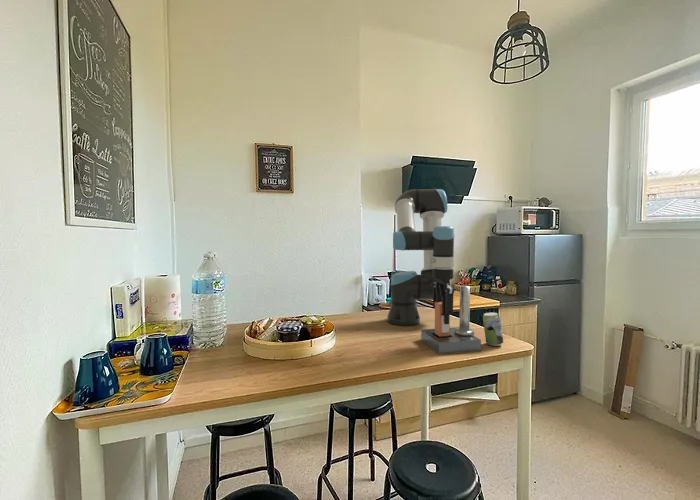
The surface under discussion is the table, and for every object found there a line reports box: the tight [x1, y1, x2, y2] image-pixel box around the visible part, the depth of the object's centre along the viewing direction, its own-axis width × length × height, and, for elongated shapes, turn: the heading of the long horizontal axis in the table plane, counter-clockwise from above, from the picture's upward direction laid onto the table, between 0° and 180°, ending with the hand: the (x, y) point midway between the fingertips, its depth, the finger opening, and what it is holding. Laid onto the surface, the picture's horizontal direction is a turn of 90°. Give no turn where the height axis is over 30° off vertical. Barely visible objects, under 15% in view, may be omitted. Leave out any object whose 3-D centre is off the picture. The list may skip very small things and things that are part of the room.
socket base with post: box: [420, 285, 482, 355], centre depth 130 cm, size 16×18×22 cm
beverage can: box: [482, 311, 504, 347], centre depth 131 cm, size 6×7×12 cm
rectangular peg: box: [434, 302, 451, 337], centre depth 129 cm, size 4×4×12 cm
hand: (442, 330), depth 130 cm, fingers closed on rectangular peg, 4 cm apart
